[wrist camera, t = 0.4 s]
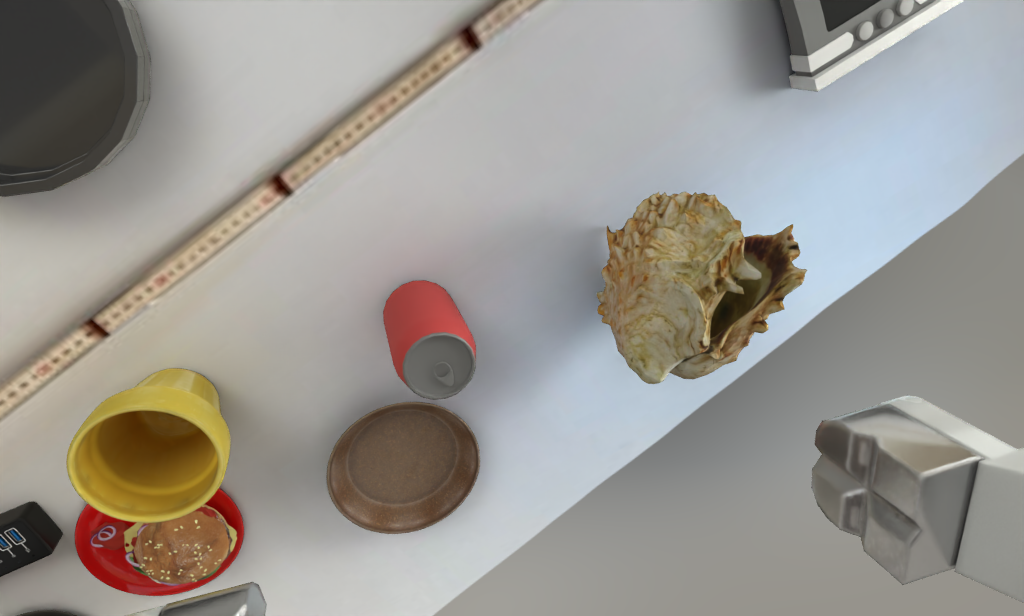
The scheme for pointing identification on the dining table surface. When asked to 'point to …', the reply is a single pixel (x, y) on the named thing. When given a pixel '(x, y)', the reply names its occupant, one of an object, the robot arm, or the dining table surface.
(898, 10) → the alarm clock
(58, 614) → the spray bottle
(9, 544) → the multiport hub
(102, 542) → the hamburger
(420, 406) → the saucer
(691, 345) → the seashell
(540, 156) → the dining table surface
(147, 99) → the pan
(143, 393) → the flower pot
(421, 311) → the beer can
